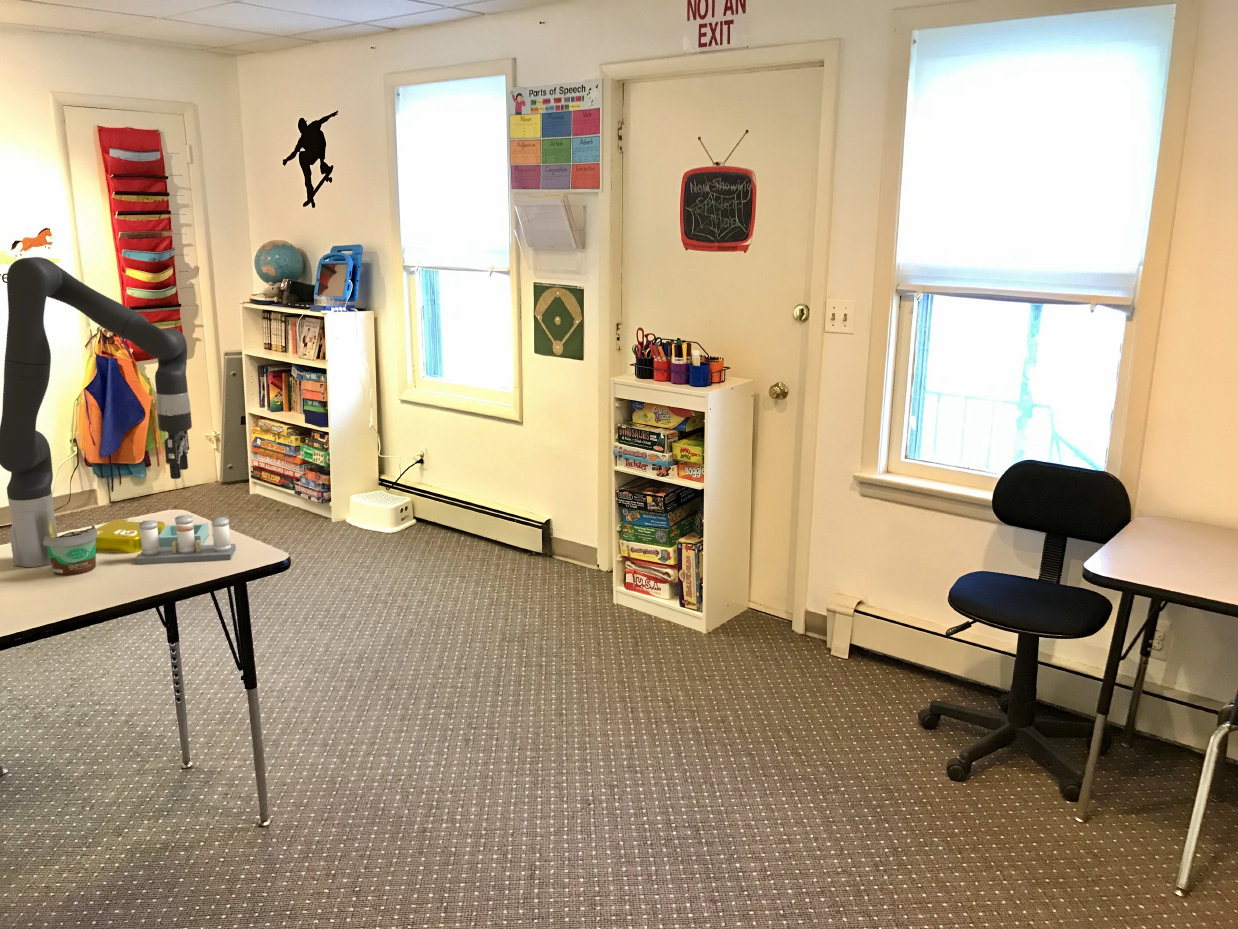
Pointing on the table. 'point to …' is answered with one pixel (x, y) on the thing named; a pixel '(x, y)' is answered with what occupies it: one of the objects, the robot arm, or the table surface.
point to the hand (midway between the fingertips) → (179, 473)
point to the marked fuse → (185, 534)
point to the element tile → (121, 536)
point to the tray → (171, 534)
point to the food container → (73, 552)
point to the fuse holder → (170, 554)
